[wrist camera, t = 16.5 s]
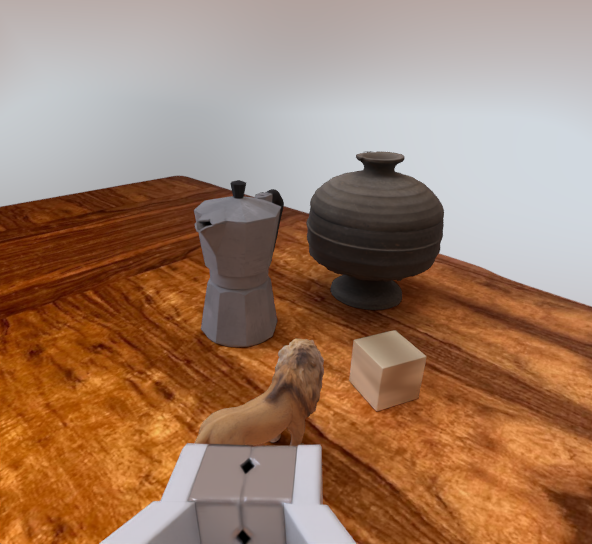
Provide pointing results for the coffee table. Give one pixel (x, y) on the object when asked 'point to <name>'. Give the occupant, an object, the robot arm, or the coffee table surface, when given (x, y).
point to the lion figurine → (273, 402)
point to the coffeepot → (239, 265)
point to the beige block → (386, 369)
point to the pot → (374, 231)
